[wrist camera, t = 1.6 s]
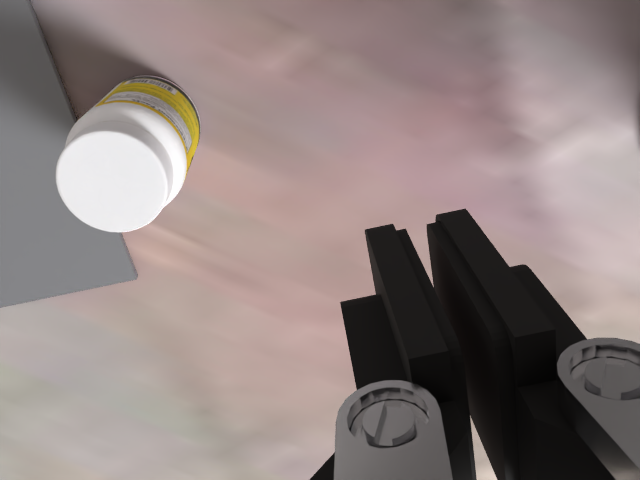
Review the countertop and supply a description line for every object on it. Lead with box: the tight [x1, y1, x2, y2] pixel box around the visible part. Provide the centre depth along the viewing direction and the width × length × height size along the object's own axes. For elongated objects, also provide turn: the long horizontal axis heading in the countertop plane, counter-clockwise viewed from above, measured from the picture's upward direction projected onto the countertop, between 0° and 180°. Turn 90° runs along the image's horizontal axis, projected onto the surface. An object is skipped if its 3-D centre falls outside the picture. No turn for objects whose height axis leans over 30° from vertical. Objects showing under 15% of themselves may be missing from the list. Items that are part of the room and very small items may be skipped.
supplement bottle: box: [56, 76, 201, 232], centre depth 25 cm, size 5×5×8 cm
